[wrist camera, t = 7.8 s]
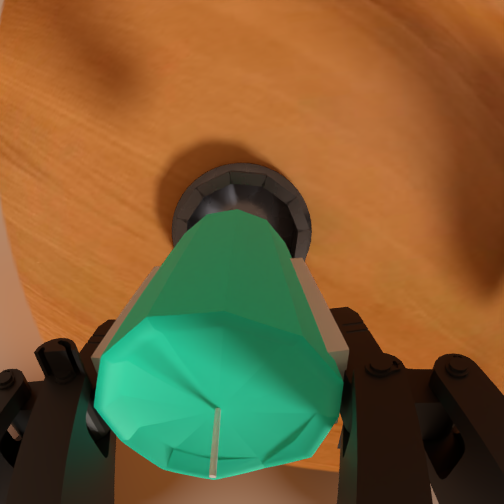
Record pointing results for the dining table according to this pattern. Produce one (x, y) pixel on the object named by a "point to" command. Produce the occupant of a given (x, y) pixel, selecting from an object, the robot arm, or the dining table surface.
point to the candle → (221, 357)
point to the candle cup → (247, 202)
